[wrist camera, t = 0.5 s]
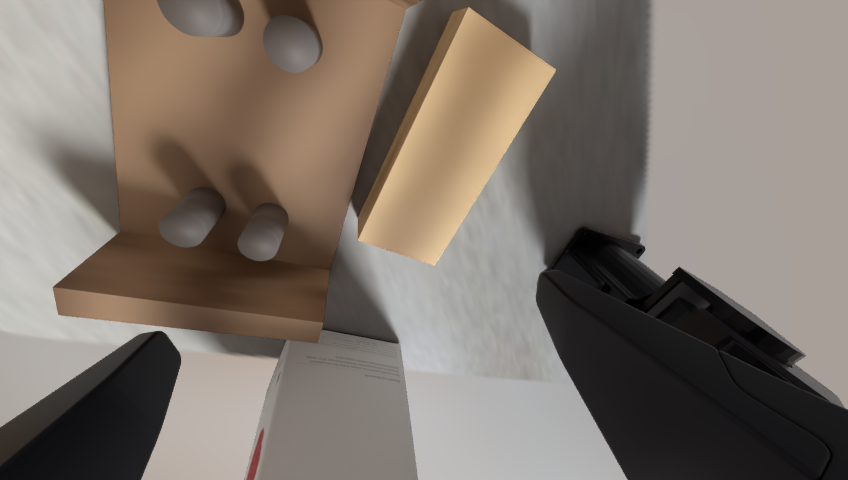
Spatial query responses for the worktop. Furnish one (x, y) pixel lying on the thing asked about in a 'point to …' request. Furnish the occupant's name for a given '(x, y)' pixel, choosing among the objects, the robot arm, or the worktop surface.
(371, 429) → the supplement box
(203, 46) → the peg frame
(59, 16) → the worktop surface
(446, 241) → the shelf board
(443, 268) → the worktop surface
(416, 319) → the worktop surface
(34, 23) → the worktop surface
